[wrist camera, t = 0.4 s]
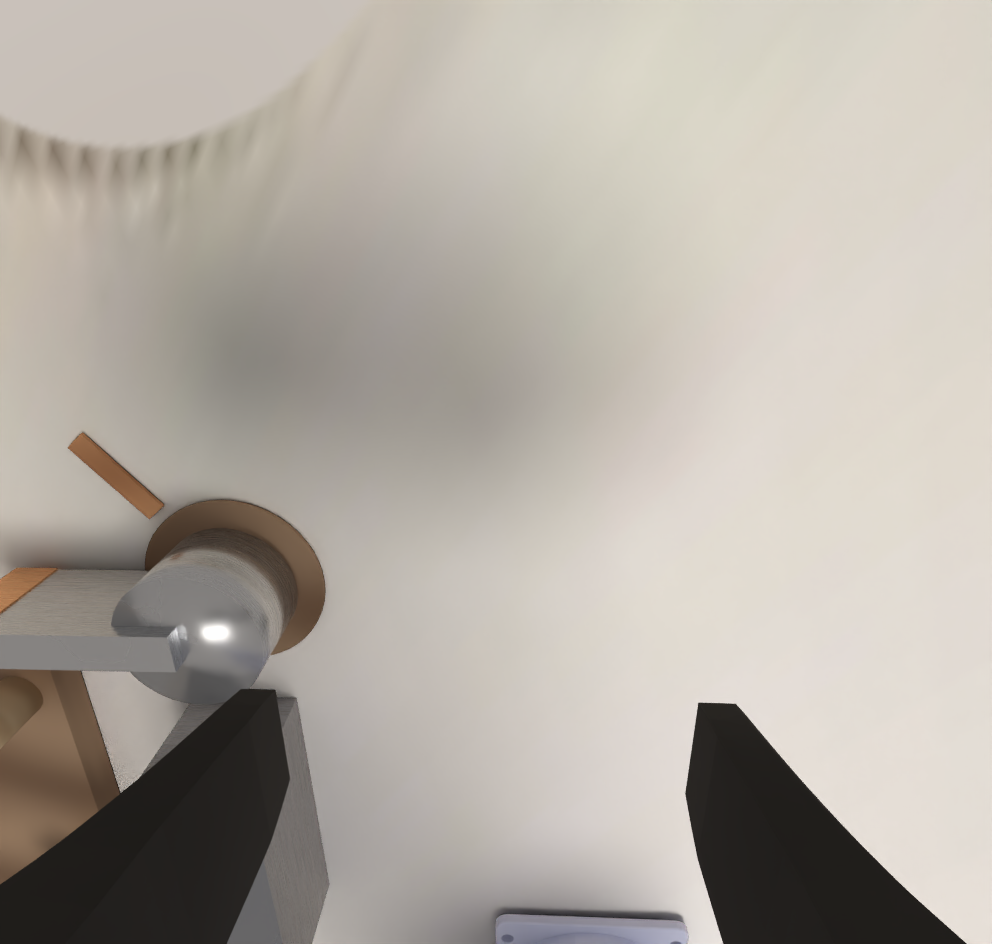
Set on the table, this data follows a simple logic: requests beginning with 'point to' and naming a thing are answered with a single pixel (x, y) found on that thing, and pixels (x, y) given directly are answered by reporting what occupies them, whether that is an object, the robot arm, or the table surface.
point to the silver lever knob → (156, 617)
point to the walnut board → (47, 763)
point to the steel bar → (278, 844)
